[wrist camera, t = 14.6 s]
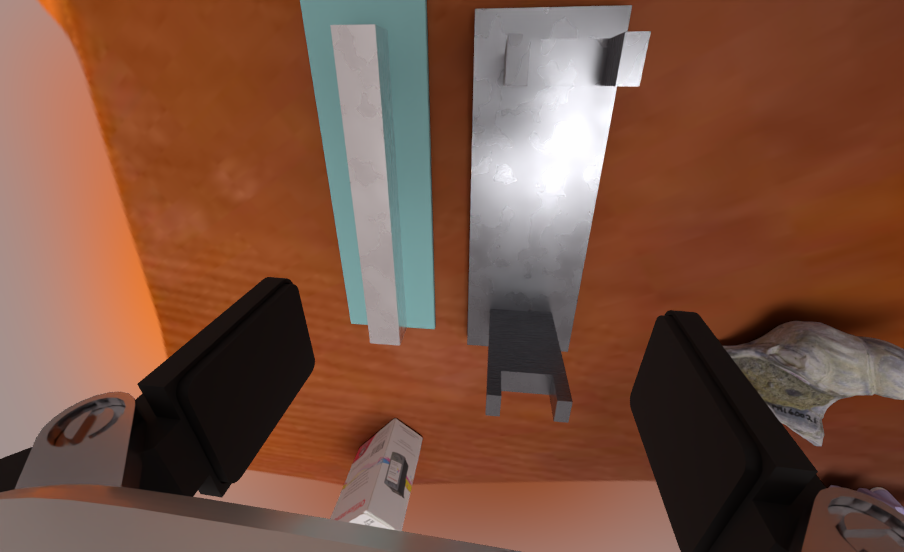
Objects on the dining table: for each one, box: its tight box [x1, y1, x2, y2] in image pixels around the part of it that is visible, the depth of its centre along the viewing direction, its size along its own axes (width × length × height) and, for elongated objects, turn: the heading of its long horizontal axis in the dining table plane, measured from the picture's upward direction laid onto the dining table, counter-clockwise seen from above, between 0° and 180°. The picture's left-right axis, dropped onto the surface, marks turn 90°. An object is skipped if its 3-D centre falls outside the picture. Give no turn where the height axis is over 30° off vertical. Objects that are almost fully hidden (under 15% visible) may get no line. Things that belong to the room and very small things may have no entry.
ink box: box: [330, 418, 423, 531], centre depth 43 cm, size 9×5×12 cm, turn 138°
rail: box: [330, 24, 407, 345], centre depth 31 cm, size 26×3×3 cm, turn 0°
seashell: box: [723, 321, 904, 446], centre depth 31 cm, size 10×17×10 cm, turn 91°
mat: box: [300, 0, 436, 329], centre depth 32 cm, size 30×9×1 cm, turn 0°
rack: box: [467, 5, 651, 422], centre depth 26 cm, size 28×10×12 cm, turn 0°
